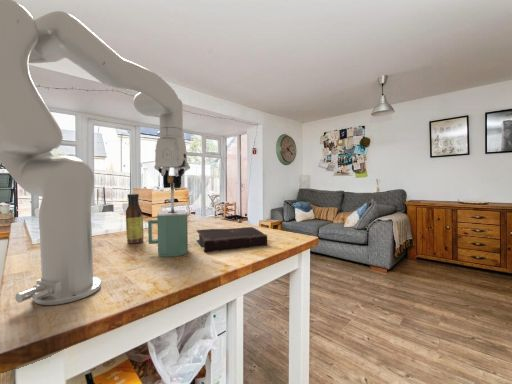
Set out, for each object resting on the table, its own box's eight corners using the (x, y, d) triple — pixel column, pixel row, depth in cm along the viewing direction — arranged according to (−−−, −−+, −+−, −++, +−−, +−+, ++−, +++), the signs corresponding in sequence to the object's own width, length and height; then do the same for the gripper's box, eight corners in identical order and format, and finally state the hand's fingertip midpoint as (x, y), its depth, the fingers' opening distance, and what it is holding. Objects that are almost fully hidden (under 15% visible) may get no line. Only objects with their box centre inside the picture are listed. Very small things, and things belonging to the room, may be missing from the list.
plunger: (183, 220, 86) (183, 175, 85) (161, 221, 83) (160, 175, 82) (182, 216, 92) (182, 175, 91) (162, 217, 90) (161, 175, 89)
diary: (267, 247, 99) (268, 235, 98) (204, 254, 89) (204, 241, 89) (250, 236, 116) (250, 225, 115) (196, 241, 106) (196, 229, 106)
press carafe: (188, 255, 85) (188, 213, 84) (147, 259, 81) (146, 215, 80) (187, 247, 95) (186, 209, 94) (150, 250, 91) (149, 211, 90)
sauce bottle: (146, 241, 103) (145, 193, 102) (132, 245, 98) (131, 194, 96) (137, 239, 107) (136, 193, 105) (123, 242, 101) (121, 194, 100)
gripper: (143, 133, 84) (144, 187, 86) (187, 132, 80) (187, 188, 81) (157, 137, 92) (158, 187, 93) (198, 135, 87) (198, 187, 89)
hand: (172, 187), depth 87 cm, fingers closed on plunger, 3 cm apart
